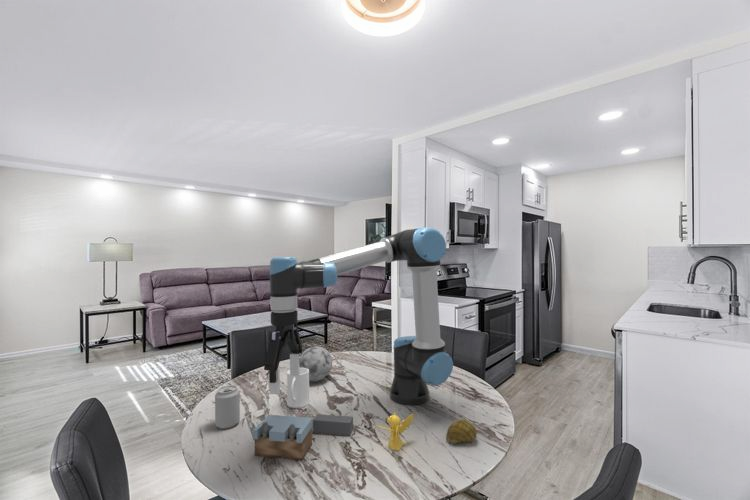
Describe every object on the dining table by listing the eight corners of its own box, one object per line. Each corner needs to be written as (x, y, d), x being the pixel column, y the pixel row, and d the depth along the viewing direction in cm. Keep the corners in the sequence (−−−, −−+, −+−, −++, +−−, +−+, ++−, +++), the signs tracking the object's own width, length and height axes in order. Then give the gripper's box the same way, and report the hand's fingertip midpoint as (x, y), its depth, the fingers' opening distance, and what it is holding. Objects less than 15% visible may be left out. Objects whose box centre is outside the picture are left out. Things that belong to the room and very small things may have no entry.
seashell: (453, 459, 99) (465, 447, 94) (437, 437, 102) (447, 425, 98) (473, 441, 105) (485, 429, 100) (456, 421, 108) (467, 408, 104)
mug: (300, 413, 120) (300, 379, 120) (278, 411, 121) (278, 377, 121) (313, 398, 131) (313, 367, 131) (292, 397, 133) (292, 366, 133)
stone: (291, 381, 149) (290, 347, 149) (318, 371, 161) (318, 340, 161) (313, 390, 139) (312, 353, 139) (340, 379, 151) (340, 345, 151)
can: (215, 432, 107) (215, 394, 107) (214, 422, 114) (214, 386, 114) (241, 426, 111) (240, 389, 111) (238, 416, 117) (238, 382, 118)
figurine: (380, 428, 108) (379, 401, 108) (414, 438, 102) (414, 409, 102) (360, 447, 98) (359, 417, 98) (397, 459, 92) (396, 427, 92)
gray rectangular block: (353, 429, 108) (353, 416, 108) (350, 435, 104) (350, 422, 104) (317, 426, 110) (317, 414, 110) (312, 432, 106) (312, 420, 106)
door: (312, 426, 101) (312, 417, 101) (300, 443, 92) (300, 433, 92) (268, 422, 103) (268, 414, 103) (253, 438, 94) (253, 429, 94)
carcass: (312, 444, 100) (311, 414, 100) (301, 460, 92) (301, 427, 92) (267, 440, 102) (267, 410, 102) (254, 456, 95) (253, 423, 95)
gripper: (289, 303, 111) (290, 368, 111) (249, 318, 86) (250, 402, 86) (311, 303, 110) (312, 369, 110) (276, 319, 85) (278, 403, 85)
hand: (285, 383), depth 98 cm, fingers open, 13 cm apart
